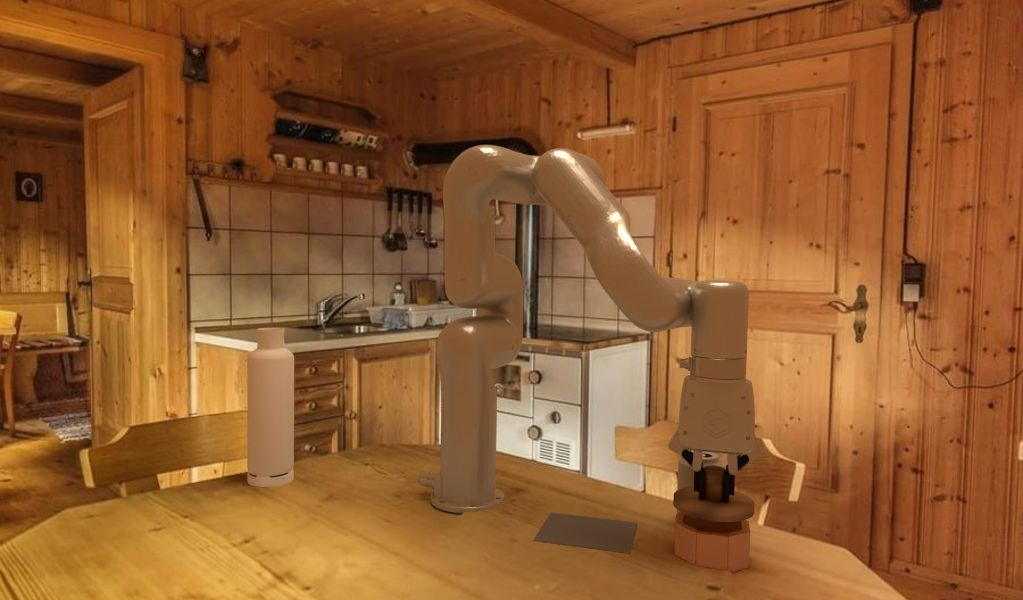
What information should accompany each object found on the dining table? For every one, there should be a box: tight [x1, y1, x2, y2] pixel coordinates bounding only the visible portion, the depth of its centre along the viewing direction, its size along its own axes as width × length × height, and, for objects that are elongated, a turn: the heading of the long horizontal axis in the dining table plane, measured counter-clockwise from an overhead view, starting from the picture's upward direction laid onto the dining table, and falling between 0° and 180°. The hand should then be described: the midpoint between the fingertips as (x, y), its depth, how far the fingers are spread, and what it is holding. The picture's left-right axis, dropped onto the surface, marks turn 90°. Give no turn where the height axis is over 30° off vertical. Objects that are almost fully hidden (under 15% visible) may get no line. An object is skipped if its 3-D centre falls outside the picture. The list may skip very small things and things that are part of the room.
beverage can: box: [676, 450, 722, 513], centre depth 108 cm, size 6×6×12 cm
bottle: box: [246, 327, 295, 488], centre depth 127 cm, size 8×8×28 cm
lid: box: [672, 465, 756, 522], centre depth 98 cm, size 11×11×6 cm
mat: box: [532, 512, 639, 555], centre depth 105 cm, size 14×12×1 cm
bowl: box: [673, 512, 751, 573], centre depth 98 cm, size 10×10×5 cm
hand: (713, 497), depth 98 cm, fingers closed on lid, 2 cm apart
